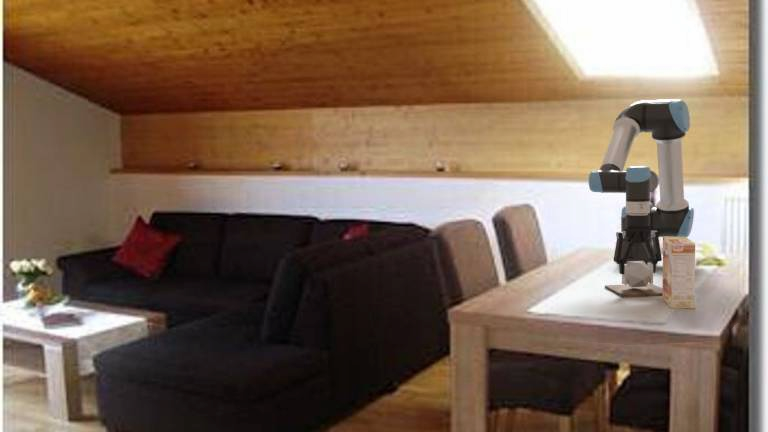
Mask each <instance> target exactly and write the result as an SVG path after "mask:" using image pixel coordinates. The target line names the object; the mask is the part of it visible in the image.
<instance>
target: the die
mask: <svg viewBox="0 0 768 432" xmlns="http://www.w3.org/2000/svg"><path fill="white" fill-rule="evenodd" d="M626 265H627V271H626V276H627V284H629V286H630V287H647V285H648V282H649V280H650V277H651V275H652V273H653V272H652V270H651V269H650V268H649V267H648V265H646V263H645V262H644V261H627V264H626ZM653 274H654V273H653Z"/></svg>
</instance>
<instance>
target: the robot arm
mask: <svg viewBox="0 0 768 432" xmlns="http://www.w3.org/2000/svg"><path fill="white" fill-rule="evenodd" d="M690 121H691V119H690V112H689V107H688V105H687V103H686V101H684V100H683V99H673V98H670V99H656V100H655V99H654V100H653V99H652V100H640V101H636V102H634V103H633V102H632V104H630V105H629V106H627V107H626V108H625V109H623V110H622V111H621V112H620V113H619V114H618V116H617V117H616V119H615V120H614V123H613V125H612V126H613V127H612V130H613V134H612V137H611V139H610V141H609V144H608V146H607V150H606V152H605V154H604V157H603V159H602V162H601V165H600V168H599V169H596V170H592V171H590V172H589V175H588V186H589V190H590V191H591V192H593V193H601V194H603V193H604V194H606V193H607V194H610V193H611V194H615V193H617V194H620V193H622V194H623V193H624V194H625V205H624V206H623V207H622V208H621V213H620V215H621V216H620V223H621V224H620V228H621V229H620V232H619V231H616V233H615V236H616V242H615V248H614V255H613V262H614V263H617V264H618V270H619V271H618V272H619V274H620V275H621V285H627V284H628V283H627V276H626V271H627V265H626V264H627V261H644V262H645V263H646V265H647V266H648V267H649V268H650V269H651V270H652V272H653V273H652V275H651V277H650V280H649V282H648V283H650V284H654V273H655V274H656V272H657V266H656V265H657V264H658V263H659V262H662V261H663V256H662V250H661V245H660V240H659V238H663V237H665V236H676V237H686V238H688V237H689V236H690V234H691V232H692V229H693V224H694V215H695V209H694V208H693V207H690V204H689V201H688V200H686V199H685V190H684V189H685V188H684V186H685V185H684V172H683V169H684V168H683V148H682V140H683V138H684V137H686V133H687V132H688V131H689V130H690V127H691V126H690V125H691V123H690ZM640 133H641V134H642V133H651V138H652V139H653V140H654V142H656V154H657V168H658V169H657V170H658V174H657V173H656V172H655V171H653V170H651V168H650V167H649V166H648V165H633V166H631V165H629V166H628V167H626V170H624V168H625V165H626V162H627V160H628V157H629V154H630V151H631V148H632V145H633V144H634V141H635V139H636V138H637V137H638V136H639V135H640ZM658 186H659V187H658ZM657 188H659V201H658V202H657V203H656V204H655V205H656V206H654V205H653V203H652V202H651V193H652V192H654V191H655V190H656V189H657Z"/></svg>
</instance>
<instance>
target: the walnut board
mask: <svg viewBox="0 0 768 432" xmlns="http://www.w3.org/2000/svg"><path fill="white" fill-rule="evenodd" d="M604 288H605V289H607V290H608V291H610V292H612V293H613V294H616V295H618V296H619V297H621V298H641V297H662V295H663V287H660V286H659V285H656V284H654V283H653V284H650V283H648V285H647V287H630V286H629V284H628V283H627V285H624V284H610V285H609V284H607V285H606V284H605V285H604Z"/></svg>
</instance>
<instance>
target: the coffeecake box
mask: <svg viewBox="0 0 768 432" xmlns="http://www.w3.org/2000/svg"><path fill="white" fill-rule="evenodd" d="M695 286H696V243H695V242H694V241H692V240H690V239H689V238H688V237H676V236H665V237H662V289H663V295H662V296H661V297H662V299H663V301H664V302H665V303H666V304H667V305H668V306H669V307H670V309H695V307H696V303H695V300H696V299H695V298H696V295H695V294H696V291H695V289H696V287H695Z"/></svg>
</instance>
